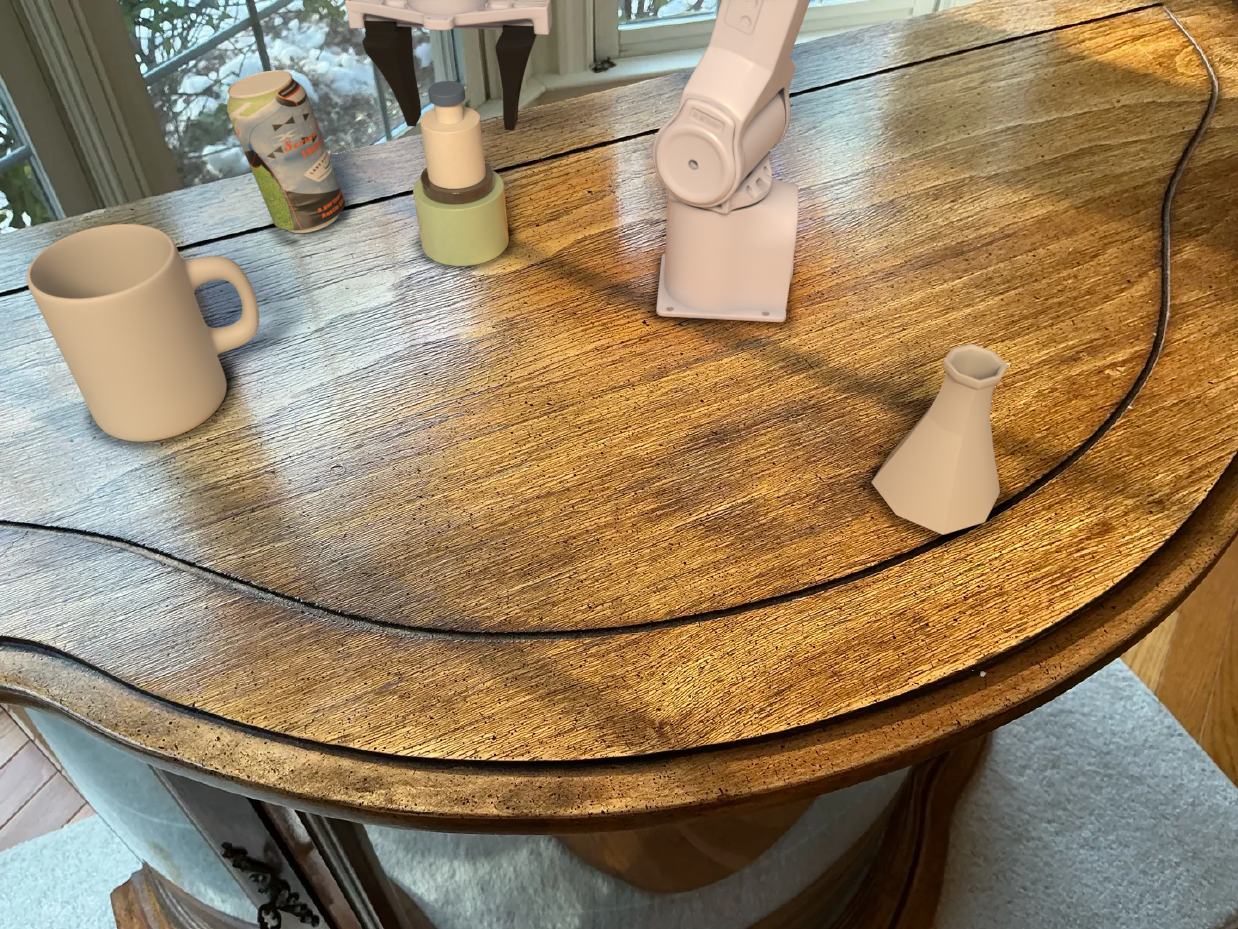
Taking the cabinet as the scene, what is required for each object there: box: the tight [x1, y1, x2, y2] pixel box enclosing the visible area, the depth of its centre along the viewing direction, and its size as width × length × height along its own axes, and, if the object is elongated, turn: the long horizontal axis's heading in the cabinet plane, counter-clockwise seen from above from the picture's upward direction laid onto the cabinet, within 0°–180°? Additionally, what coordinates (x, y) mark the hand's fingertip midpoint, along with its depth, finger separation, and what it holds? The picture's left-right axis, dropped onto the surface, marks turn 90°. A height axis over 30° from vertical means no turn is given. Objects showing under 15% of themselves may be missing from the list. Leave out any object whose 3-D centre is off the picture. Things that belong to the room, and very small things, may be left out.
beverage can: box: [226, 69, 346, 234], centre depth 78 cm, size 6×7×12 cm
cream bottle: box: [419, 80, 486, 189], centre depth 73 cm, size 4×4×7 cm
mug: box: [26, 223, 260, 443], centre depth 63 cm, size 12×8×11 cm
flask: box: [871, 343, 1009, 535], centre depth 56 cm, size 7×7×10 cm
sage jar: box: [412, 162, 510, 267], centre depth 78 cm, size 7×7×6 cm
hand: (462, 122), depth 76 cm, fingers open, 7 cm apart
